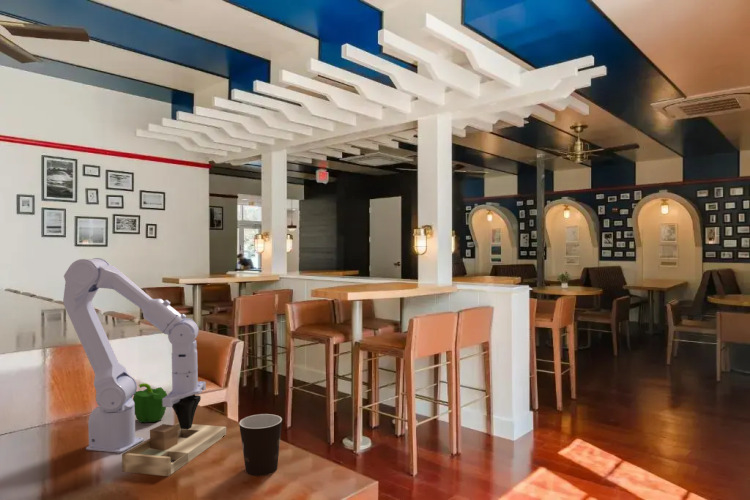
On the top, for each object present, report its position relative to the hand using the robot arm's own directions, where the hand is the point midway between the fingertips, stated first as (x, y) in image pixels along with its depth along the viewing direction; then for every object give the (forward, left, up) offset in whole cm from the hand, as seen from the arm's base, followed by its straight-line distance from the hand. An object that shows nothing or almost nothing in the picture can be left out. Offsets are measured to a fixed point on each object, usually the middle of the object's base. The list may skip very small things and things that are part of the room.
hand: (186, 428), depth 123 cm
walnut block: (0, -8, -1) cm, 8 cm away
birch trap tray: (+2, -6, -3) cm, 7 cm away
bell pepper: (-18, +11, -3) cm, 21 cm away
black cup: (+24, -9, -3) cm, 26 cm away
